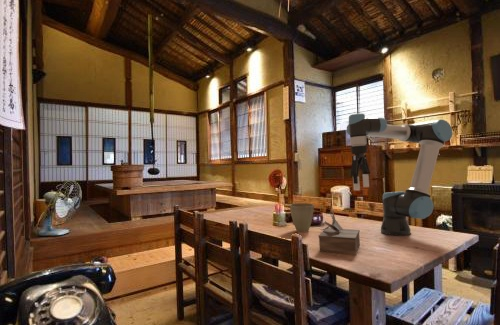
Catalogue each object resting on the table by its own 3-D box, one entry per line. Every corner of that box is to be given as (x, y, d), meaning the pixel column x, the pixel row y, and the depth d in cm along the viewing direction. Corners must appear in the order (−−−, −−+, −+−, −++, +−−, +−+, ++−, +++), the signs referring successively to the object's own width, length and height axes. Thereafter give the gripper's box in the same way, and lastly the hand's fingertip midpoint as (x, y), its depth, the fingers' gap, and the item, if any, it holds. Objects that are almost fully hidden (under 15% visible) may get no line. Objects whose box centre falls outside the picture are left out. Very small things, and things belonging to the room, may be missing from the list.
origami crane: (351, 220, 140) (335, 205, 144) (337, 232, 135) (321, 216, 139) (342, 231, 148) (327, 216, 153) (329, 242, 143) (314, 227, 147)
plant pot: (294, 234, 172) (293, 207, 172) (287, 229, 187) (286, 204, 187) (319, 232, 174) (317, 205, 174) (310, 227, 189) (309, 202, 189)
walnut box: (326, 243, 152) (326, 227, 152) (360, 246, 145) (359, 229, 145) (319, 252, 137) (318, 235, 137) (356, 256, 130) (355, 238, 130)
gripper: (359, 146, 156) (362, 185, 156) (341, 146, 137) (344, 191, 137) (374, 144, 151) (377, 185, 151) (357, 144, 132) (360, 191, 132)
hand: (361, 188), depth 144 cm, fingers open, 13 cm apart
